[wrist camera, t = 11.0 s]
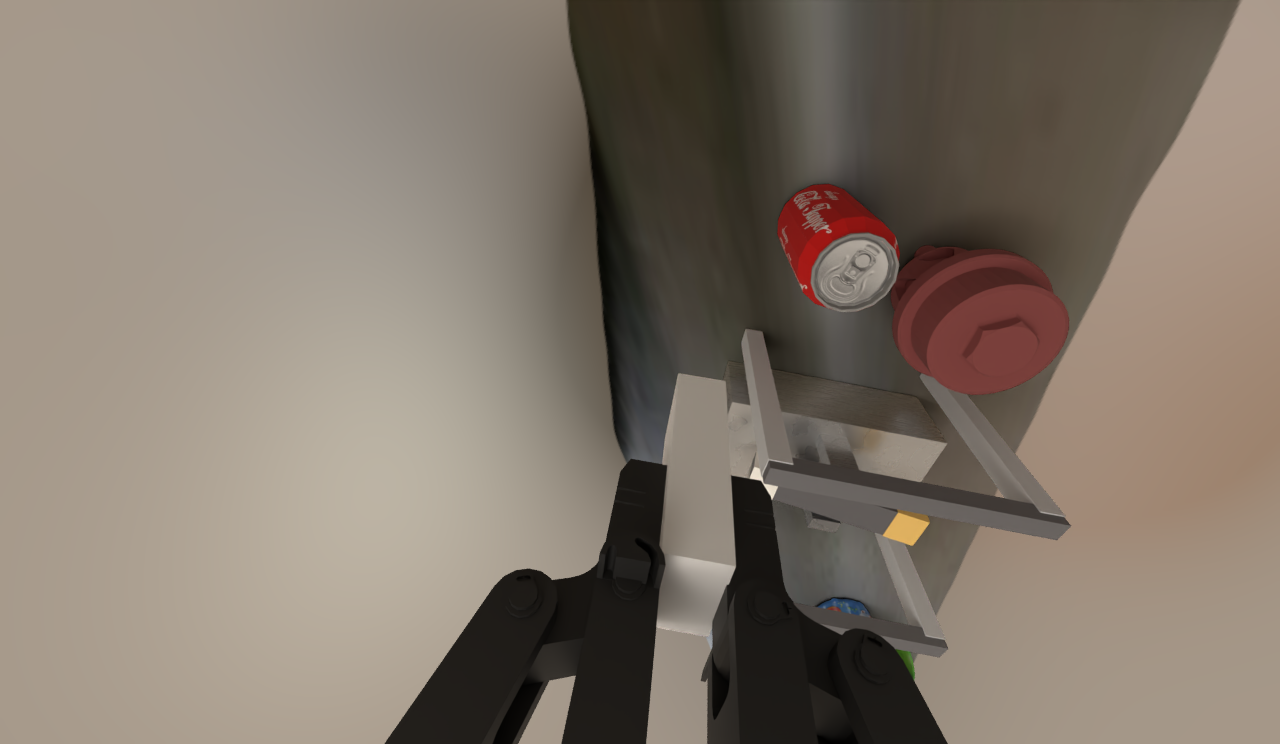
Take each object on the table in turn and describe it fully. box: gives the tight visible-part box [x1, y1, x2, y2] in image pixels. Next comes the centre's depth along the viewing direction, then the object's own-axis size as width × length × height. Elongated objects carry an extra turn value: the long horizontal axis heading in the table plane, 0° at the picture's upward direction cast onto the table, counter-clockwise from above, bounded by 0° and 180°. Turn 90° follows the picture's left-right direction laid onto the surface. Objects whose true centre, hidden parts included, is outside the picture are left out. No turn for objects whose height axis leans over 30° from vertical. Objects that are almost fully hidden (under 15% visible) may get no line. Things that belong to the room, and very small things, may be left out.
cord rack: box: [741, 329, 1071, 657], centre depth 42 cm, size 17×19×19 cm
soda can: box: [777, 184, 900, 312], centre depth 34 cm, size 6×6×12 cm
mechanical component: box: [891, 245, 1069, 395], centre depth 36 cm, size 12×10×10 cm
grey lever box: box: [722, 361, 947, 533], centre depth 45 cm, size 9×19×12 cm, turn 81°
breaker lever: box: [747, 451, 930, 546], centre depth 40 cm, size 3×14×2 cm, turn 81°
